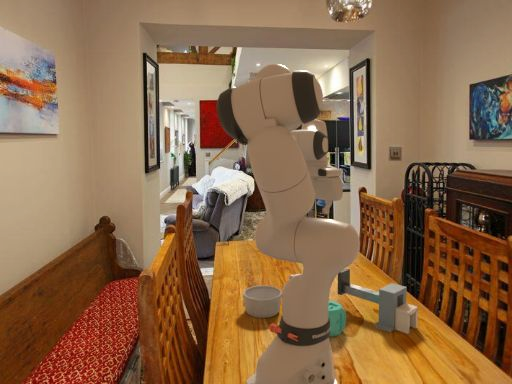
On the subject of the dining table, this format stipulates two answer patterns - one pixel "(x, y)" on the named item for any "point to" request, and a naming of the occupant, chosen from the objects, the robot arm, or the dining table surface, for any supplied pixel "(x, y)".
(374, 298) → the shaft
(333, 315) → the decorative dice
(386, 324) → the bearing block
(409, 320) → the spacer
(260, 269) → the dining table surface
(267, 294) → the ramekin
